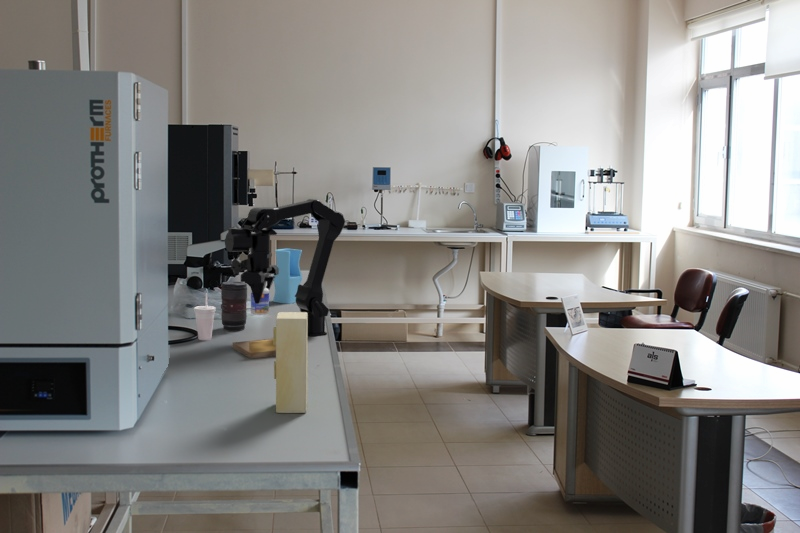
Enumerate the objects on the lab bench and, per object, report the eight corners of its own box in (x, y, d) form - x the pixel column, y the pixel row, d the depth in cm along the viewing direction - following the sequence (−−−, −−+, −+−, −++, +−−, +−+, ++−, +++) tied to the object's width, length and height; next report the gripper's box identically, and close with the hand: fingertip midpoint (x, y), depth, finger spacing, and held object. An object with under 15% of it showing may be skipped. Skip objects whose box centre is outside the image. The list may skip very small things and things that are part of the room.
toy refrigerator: (274, 402, 180) (275, 311, 178) (307, 402, 181) (308, 311, 178) (271, 413, 172) (272, 318, 170) (306, 413, 173) (307, 318, 170)
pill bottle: (256, 315, 236) (256, 283, 234) (247, 312, 240) (247, 280, 238) (272, 314, 239) (272, 282, 238) (263, 311, 243) (263, 279, 242)
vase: (288, 304, 302) (288, 251, 299) (272, 301, 306) (273, 249, 304) (301, 301, 309) (302, 250, 306) (286, 298, 313) (286, 248, 310)
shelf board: (280, 342, 239) (280, 327, 238) (300, 352, 227) (300, 337, 226) (232, 347, 231) (232, 332, 230) (250, 358, 219) (250, 342, 218)
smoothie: (210, 342, 237) (210, 295, 235) (190, 340, 238) (190, 294, 236) (219, 337, 243) (219, 292, 241) (199, 336, 244) (199, 291, 242)
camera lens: (244, 332, 252) (244, 285, 250) (218, 331, 252) (218, 284, 250) (249, 326, 260) (249, 281, 258) (224, 325, 260) (224, 280, 258)
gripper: (244, 245, 247) (244, 295, 249) (223, 252, 229) (223, 305, 231) (279, 247, 246) (278, 297, 248) (260, 254, 227) (260, 307, 229)
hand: (260, 301), depth 239 cm, fingers closed on pill bottle, 5 cm apart
